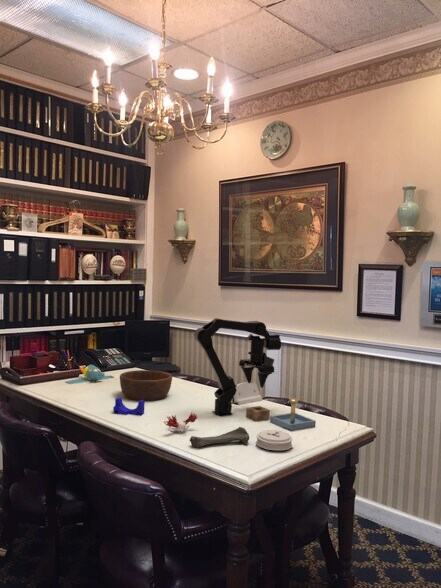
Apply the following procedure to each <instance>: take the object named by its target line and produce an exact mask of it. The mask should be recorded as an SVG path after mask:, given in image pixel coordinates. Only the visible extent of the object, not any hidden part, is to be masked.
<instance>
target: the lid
mask: <svg viewBox="0 0 441 588" xmlns="http://www.w3.org/2000/svg"><path fill="white" fill-rule="evenodd" d="M292 441H293V436H292V435H290V433H288V432H286V431H282V430H279V429H278V430H277V429H265V430H264V429H263V430H261V431H260V432H257V434H256V442H255V444H256V445H257V446H258V447H259V448H261V449H265V450H268V451H270V450H271V451H286V450H289V449H291V448H292V447H293V444H292Z"/></svg>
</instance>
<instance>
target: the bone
mask: <svg viewBox="0 0 441 588" xmlns="http://www.w3.org/2000/svg"><path fill="white" fill-rule="evenodd" d="M249 440H250V435H249V433H248V432H247V429H246V428H245V427H242V426H238V427H237V428H235V429H233V430H230V431H228V432H225V433H223V434H219V435H216V436H205V437H201V436H195V435H191V436H190V438H189V442H190V443H191V447H193V448H201V447H203V446H206V445H212V444H213V445H214V444H222V443H223V444H224V443H231V442H232V443H233V442H235V441H237V442H242V443H243V445H245V446H246V445H248V443H249Z"/></svg>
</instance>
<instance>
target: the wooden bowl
mask: <svg viewBox="0 0 441 588" xmlns="http://www.w3.org/2000/svg"><path fill="white" fill-rule="evenodd" d="M172 381H173V375H172V374H171V373H170V372H166V371H161V370H153V369H152V370H149V369H139V370H129V371H125V372H122V373H121V374H119V382H120V389H121V392H122V394H123V395H124V397H125V398H126V399H129V400H132V401H138V402H139V401H140V400H145V402H147V401H148V402H151V401H160V400H163V399H165V398H166V397H167V396H168V394H169V392H170V390H171V386H172V383H173V382H172Z"/></svg>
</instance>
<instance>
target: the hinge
mask: <svg viewBox="0 0 441 588" xmlns="http://www.w3.org/2000/svg"><path fill="white" fill-rule="evenodd" d="M235 385H236V386H237V387H236V390H237V391H236V394H235V395H234V396H233V398H232V400H231V403H232V404H235V403H237V406H243V405H247V404H252V403H257V402H262V401H263V397H262V396H261V394H260V392H259V389H258V385H257V384H256V383H255V382H251V383H248V381H247V382H246V381H244V382H241V383H238V384H235Z"/></svg>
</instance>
